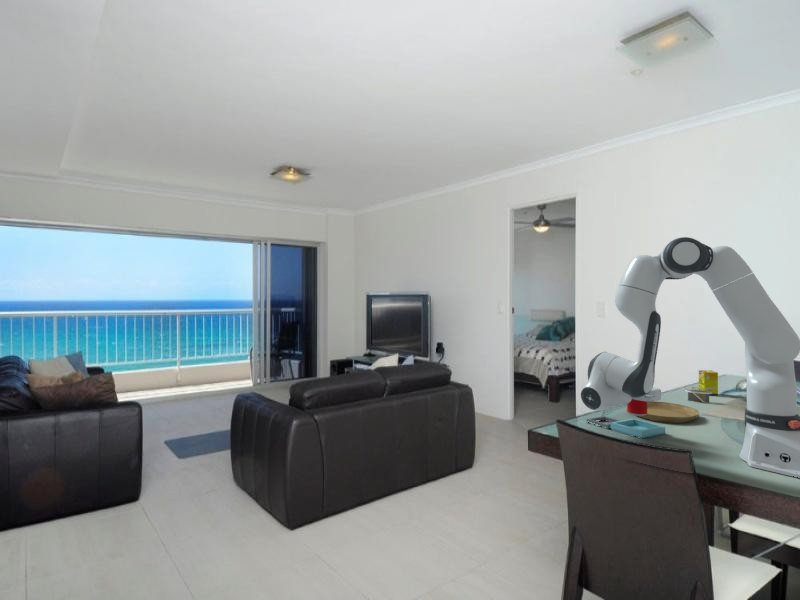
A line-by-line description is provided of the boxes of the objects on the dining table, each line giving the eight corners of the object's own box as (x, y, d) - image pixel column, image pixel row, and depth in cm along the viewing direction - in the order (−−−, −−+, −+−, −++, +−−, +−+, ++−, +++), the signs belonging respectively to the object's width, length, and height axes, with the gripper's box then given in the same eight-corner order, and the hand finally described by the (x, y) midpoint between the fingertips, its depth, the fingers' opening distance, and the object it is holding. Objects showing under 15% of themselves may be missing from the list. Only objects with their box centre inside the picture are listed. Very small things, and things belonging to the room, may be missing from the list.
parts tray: (665, 433, 159) (665, 426, 159) (641, 438, 153) (641, 431, 153) (633, 425, 169) (633, 418, 169) (610, 429, 164) (610, 422, 164)
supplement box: (698, 392, 225) (698, 369, 225) (711, 393, 224) (711, 370, 224) (704, 395, 219) (704, 371, 219) (718, 395, 218) (718, 372, 218)
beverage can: (636, 411, 165) (636, 377, 165) (651, 415, 160) (651, 380, 160) (622, 413, 163) (623, 378, 163) (637, 417, 157) (638, 381, 157)
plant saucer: (695, 428, 166) (695, 419, 166) (621, 418, 180) (621, 409, 180) (702, 414, 185) (702, 406, 185) (634, 406, 199) (634, 398, 199)
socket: (624, 425, 169) (624, 421, 169) (607, 429, 165) (607, 424, 165) (603, 419, 177) (603, 415, 177) (586, 422, 173) (586, 418, 173)
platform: (724, 407, 197) (724, 392, 196) (674, 403, 206) (675, 388, 206) (722, 402, 207) (722, 387, 207) (674, 397, 216) (674, 383, 216)
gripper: (649, 387, 145) (670, 383, 153) (589, 378, 162) (610, 374, 170) (649, 408, 145) (670, 402, 153) (588, 396, 162) (610, 391, 170)
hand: (638, 387), depth 162 cm, fingers closed on beverage can, 6 cm apart
